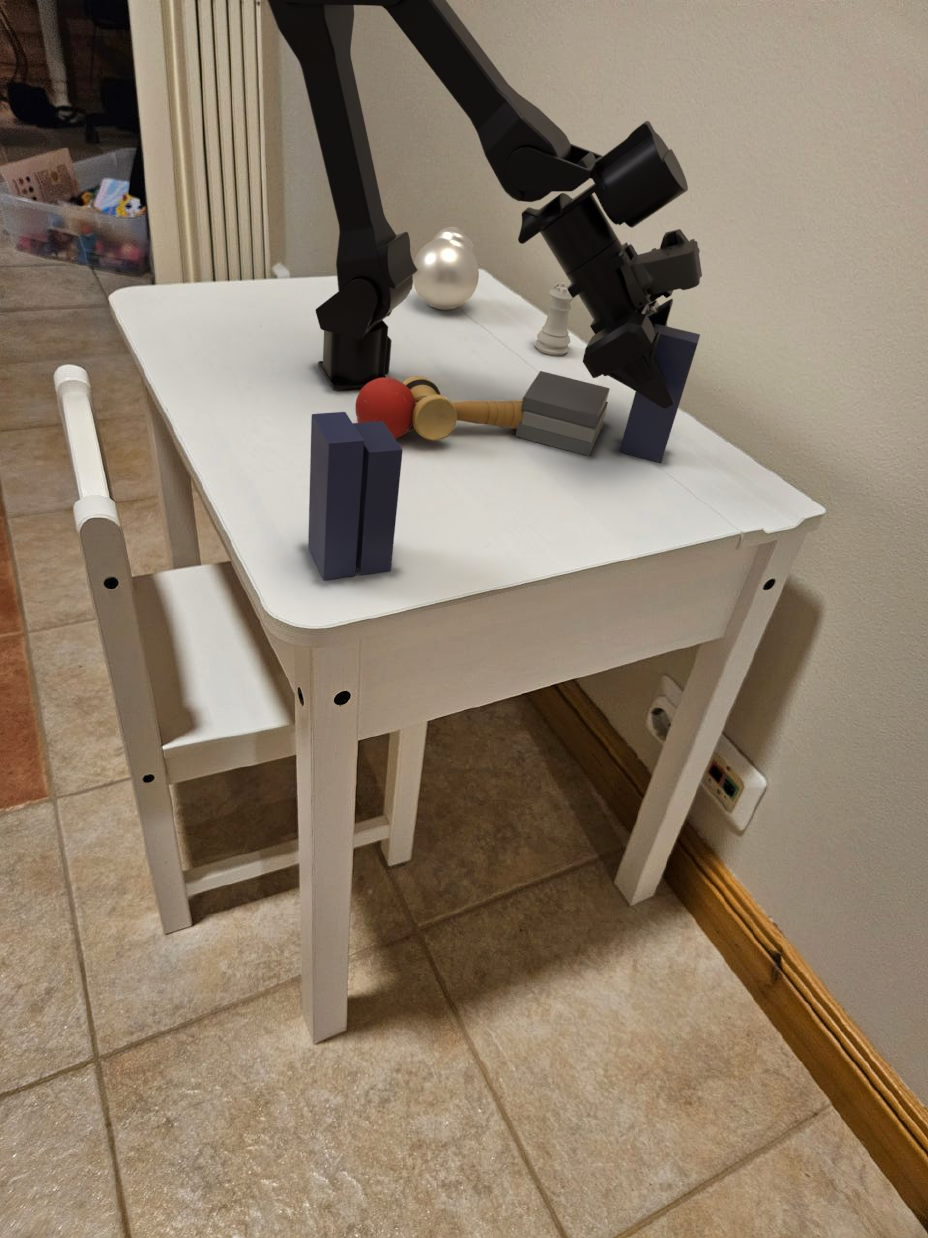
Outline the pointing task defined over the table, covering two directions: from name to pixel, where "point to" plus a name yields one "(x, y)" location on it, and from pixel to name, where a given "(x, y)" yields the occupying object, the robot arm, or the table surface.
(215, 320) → the table surface
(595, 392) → the grey books
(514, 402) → the kendama
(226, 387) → the table surface
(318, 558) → the navy books
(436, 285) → the baroque pearl
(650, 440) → the navy book
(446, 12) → the robot arm
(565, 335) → the rook chess piece
